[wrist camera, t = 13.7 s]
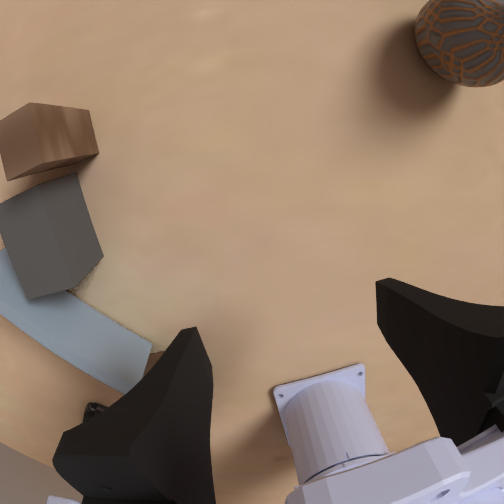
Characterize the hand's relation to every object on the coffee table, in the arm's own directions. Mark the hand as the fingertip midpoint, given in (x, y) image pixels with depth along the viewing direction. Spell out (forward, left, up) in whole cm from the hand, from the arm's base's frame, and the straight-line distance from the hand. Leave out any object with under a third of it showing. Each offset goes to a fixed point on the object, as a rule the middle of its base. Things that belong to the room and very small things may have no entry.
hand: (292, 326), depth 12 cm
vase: (+12, -16, -10) cm, 22 cm away
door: (-1, +15, -9) cm, 18 cm away
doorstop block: (+5, +13, -10) cm, 17 cm away
